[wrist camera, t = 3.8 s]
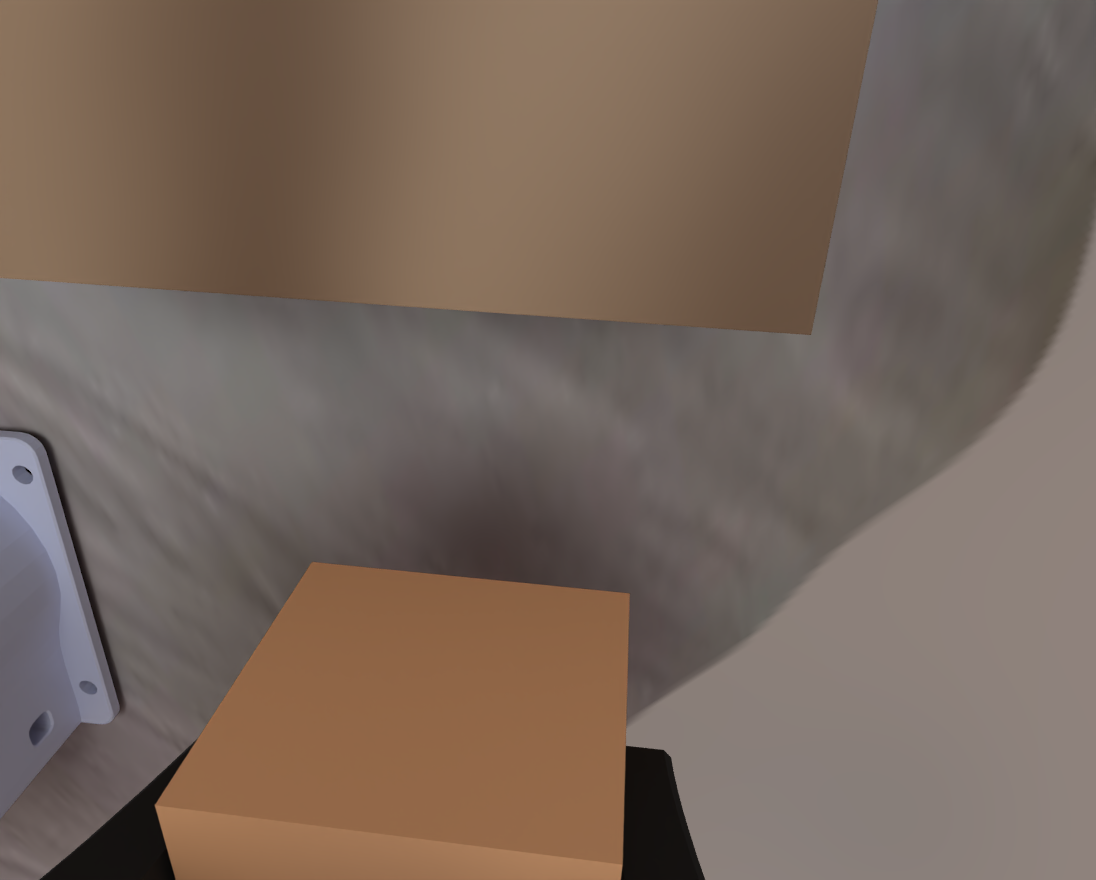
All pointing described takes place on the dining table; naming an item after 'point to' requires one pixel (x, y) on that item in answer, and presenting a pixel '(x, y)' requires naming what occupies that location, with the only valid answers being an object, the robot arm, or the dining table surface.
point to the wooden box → (436, 151)
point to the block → (414, 737)
